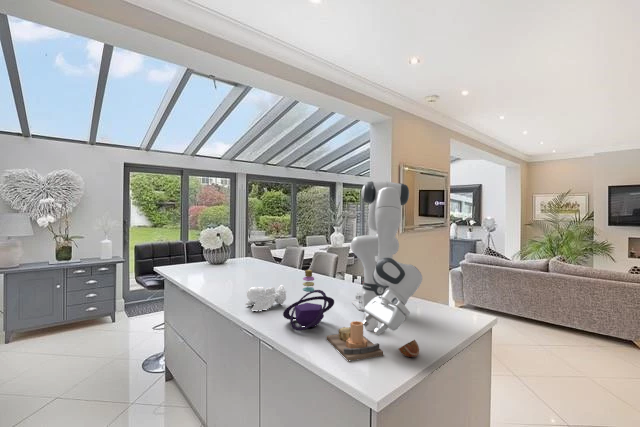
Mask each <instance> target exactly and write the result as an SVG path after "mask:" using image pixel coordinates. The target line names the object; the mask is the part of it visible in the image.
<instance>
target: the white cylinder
mask: <svg viewBox="0 0 640 427" xmlns="http://www.w3.org/2000/svg"><path fill="white" fill-rule="evenodd" d="M366 314H367V313H366V312H365V311H363V320H364V319H365V316H366ZM368 323H369V324H368V325H367V327H365V326H364V325H363V328H364V330H366V331H368V330H369V331H370V332H374V330H375V329H376V328H377V329H378V328H379V321H377V320H376V319H374V318H371V319H370V320H369V322H368Z"/></svg>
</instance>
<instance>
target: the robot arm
mask: <svg viewBox="0 0 640 427" xmlns="http://www.w3.org/2000/svg"><path fill="white" fill-rule="evenodd" d="M361 198H362V201H363V202H364V203H367V204H368V205H369V209H368V217H367V225H368V228H369V229H370V230H372V231H374V232H376V234H374V235H373V234H372V235H369V234H368V235H365V234H364V235H358V236H355V237H353V239H352V240H351V242H350V249H351V250H352V253H353V254H354V255H355V256H356V257H357V258H359V260H360V261H361V263H362V264H361V265H362V266H363V276H364V277H363V278H364V280H363V281H362V288H361V289H360V290H359V291H357V292H356V295H355V299H354V300H352V301H351V303H352V305H353V306H354V307H355V308H356V309H357V311H361V312H362V311H363V312H366V313H367V314H366V316H365V319H364V318H363V320H362V321H361V322H362V323H363V327H364V326H365V327H367V325H368V324H369V323H368V322H369V320H370V319H371V318H374V319H376V320H377V321H378V323H380V326H378V329H377V328H376V329H375V330H374V331H373V333H374V334H375V335H376V336H380V335H381V334H382V333H384V332H385V331H386V330H388V329H390V330H391V331H393V332H394V331H396V330H398V329H399V327H401V325H402V324H403V323H404V321H405V319H406V317H409V315H410V313H411V312H410V310H409V309H408V308H407V306H406V304H407V303H408V301H409V299H410V298H411V296H413V295H414V294H415V293H416V292H417V290H418V289H419V288H420V286H421V284H422V282H423V275H422V272H421V271H420V269H418V267H416V266H415V265H413V264H411V263H410V264H406V263H402V262H399V261H397V260H395V259H394V258H393V255H396V254H398V251H399V248H400V243H399V240H398V239H397V237H396V236H397V233H398V232H399V229H400V226H401V220H402V206H404V205H405V204H407V203H408V201H409V200H410V190H409V187H408V185H407V184H404V183H398V182H392V181H366V182H365V183H364V184H363V186H362V189H361ZM376 257H377V260H376ZM365 327H364V328H365Z"/></svg>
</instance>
